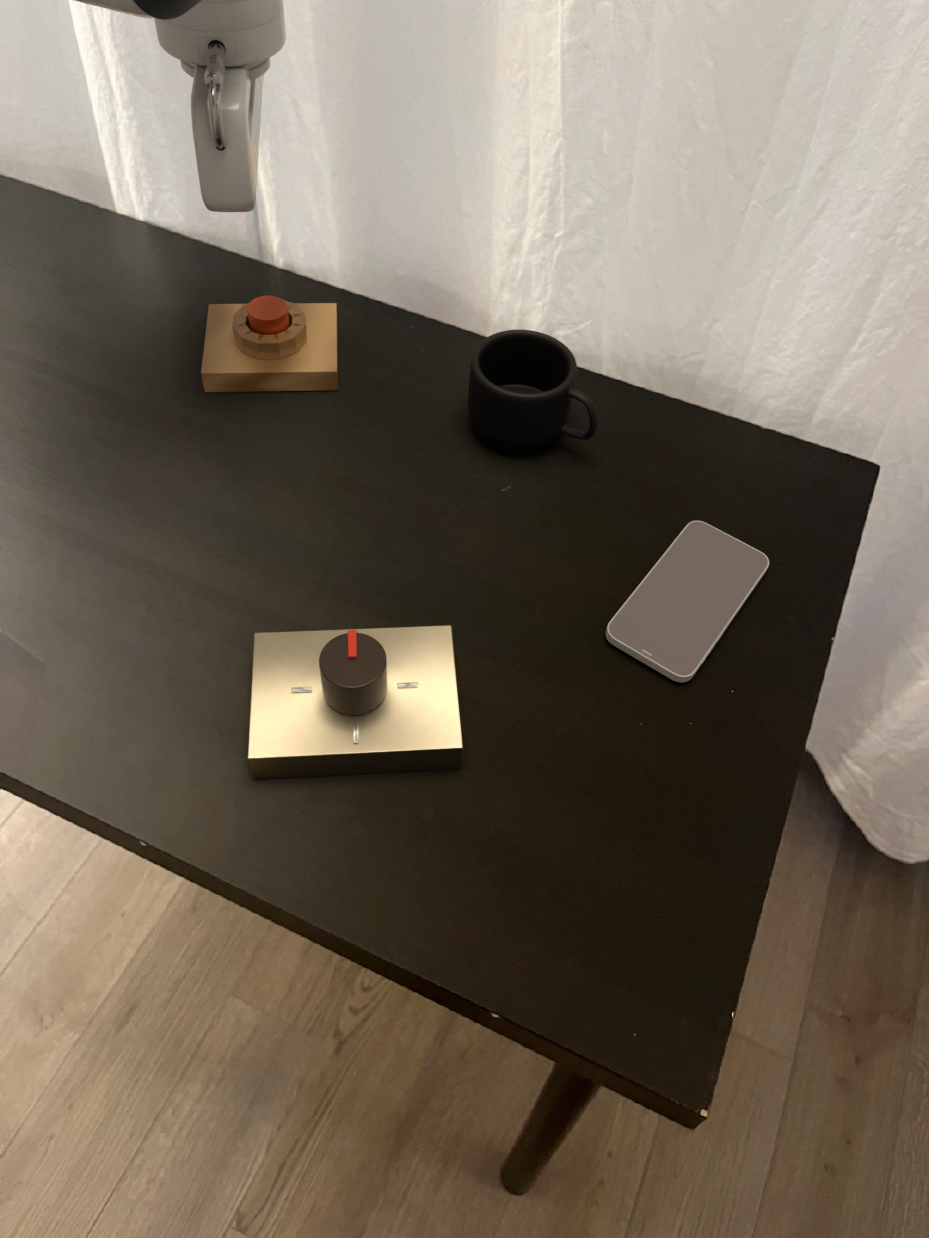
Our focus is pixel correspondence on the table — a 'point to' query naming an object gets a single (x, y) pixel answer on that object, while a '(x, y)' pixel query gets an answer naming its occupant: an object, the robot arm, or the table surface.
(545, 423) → the mug
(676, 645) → the smartphone
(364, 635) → the dial knob
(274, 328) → the red button
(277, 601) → the table surface
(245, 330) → the button block
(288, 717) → the dial panel
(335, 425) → the table surface
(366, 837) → the table surface
